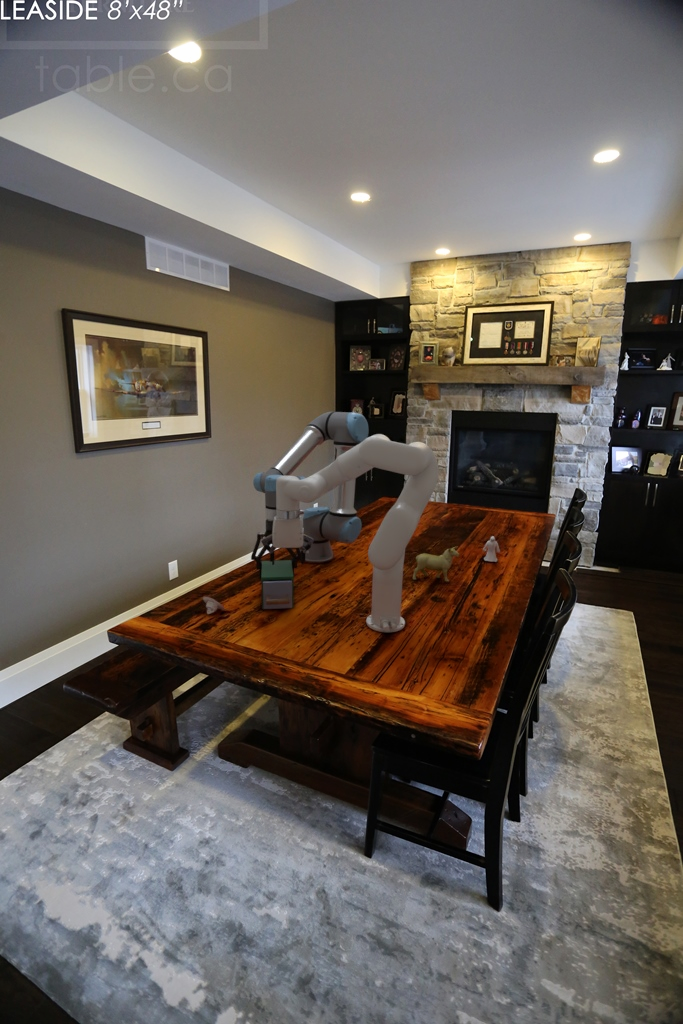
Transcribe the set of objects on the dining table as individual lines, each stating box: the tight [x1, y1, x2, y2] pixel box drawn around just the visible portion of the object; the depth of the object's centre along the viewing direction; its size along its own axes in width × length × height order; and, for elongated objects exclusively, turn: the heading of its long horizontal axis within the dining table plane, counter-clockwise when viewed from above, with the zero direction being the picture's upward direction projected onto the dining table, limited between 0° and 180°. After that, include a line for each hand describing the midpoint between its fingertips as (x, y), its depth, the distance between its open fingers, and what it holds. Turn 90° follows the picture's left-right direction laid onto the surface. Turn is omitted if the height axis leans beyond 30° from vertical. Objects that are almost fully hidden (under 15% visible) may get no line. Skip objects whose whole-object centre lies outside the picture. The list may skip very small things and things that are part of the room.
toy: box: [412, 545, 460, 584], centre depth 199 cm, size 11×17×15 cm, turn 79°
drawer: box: [263, 579, 293, 610], centre depth 173 cm, size 21×10×10 cm, turn 8°
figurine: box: [482, 535, 501, 563], centre depth 223 cm, size 8×8×12 cm
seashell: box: [202, 596, 226, 615], centre depth 167 cm, size 8×5×8 cm
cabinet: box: [260, 559, 295, 610], centre depth 179 cm, size 16×11×12 cm, turn 8°
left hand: (277, 576), depth 183 cm, fingers closed on cabinet, 11 cm apart
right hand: (287, 563), depth 167 cm, fingers open, 9 cm apart
